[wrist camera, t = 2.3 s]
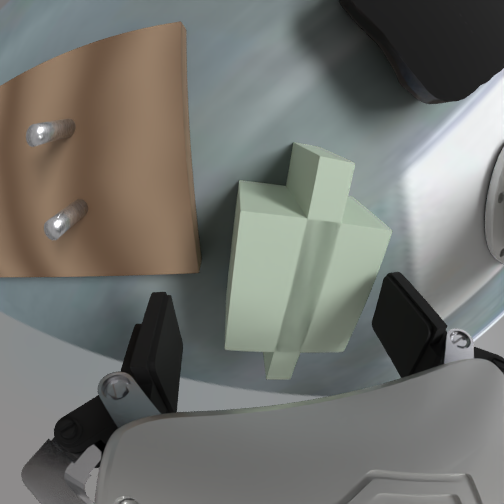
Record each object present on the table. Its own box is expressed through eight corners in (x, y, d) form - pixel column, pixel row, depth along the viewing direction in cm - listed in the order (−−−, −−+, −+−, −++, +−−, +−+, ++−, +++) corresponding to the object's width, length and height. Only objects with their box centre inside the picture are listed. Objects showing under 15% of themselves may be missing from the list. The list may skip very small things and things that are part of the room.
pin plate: (186, 30, 10) (166, -1, 6) (201, 259, 16) (192, 307, 12) (-53, 131, 9) (-88, 144, 5) (-22, 268, 16) (-50, 295, 12)
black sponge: (399, 115, 13) (437, 120, 10) (315, -5, 10) (336, -31, 6) (511, 47, 9) (541, 48, 6) (461, -38, 6) (488, -47, 2)
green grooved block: (244, 135, 13) (249, 145, 9) (359, 155, 14) (408, 177, 10) (223, 319, 19) (221, 377, 14) (312, 324, 20) (329, 378, 15)
